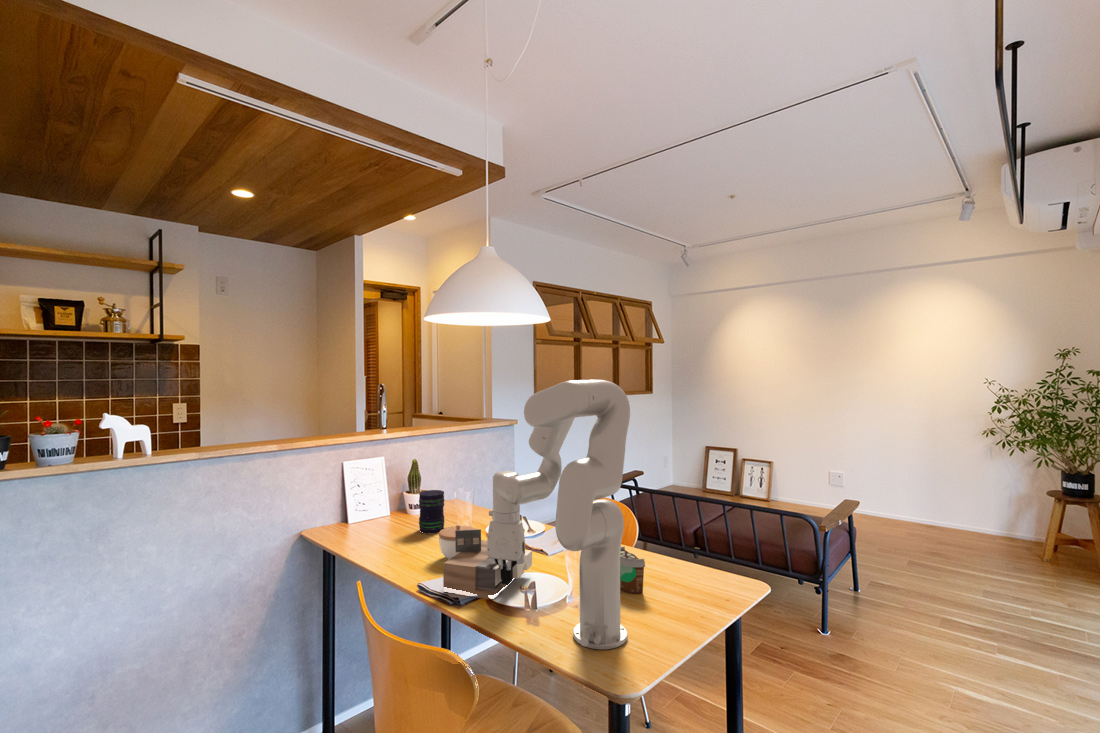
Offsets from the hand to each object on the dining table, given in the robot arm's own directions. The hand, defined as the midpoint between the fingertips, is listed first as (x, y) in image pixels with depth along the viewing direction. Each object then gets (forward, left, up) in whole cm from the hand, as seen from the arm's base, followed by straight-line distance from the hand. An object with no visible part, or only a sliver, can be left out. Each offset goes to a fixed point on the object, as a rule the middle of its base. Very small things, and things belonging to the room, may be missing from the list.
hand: (506, 582), depth 146 cm
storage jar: (+47, +54, -4) cm, 71 cm away
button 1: (0, +5, -1) cm, 5 cm away
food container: (+15, -30, -4) cm, 34 cm away
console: (+7, +11, -4) cm, 13 cm away
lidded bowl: (+22, +28, -4) cm, 36 cm away
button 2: (+14, +1, 0) cm, 14 cm away
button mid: (+7, +1, -1) cm, 7 cm away
